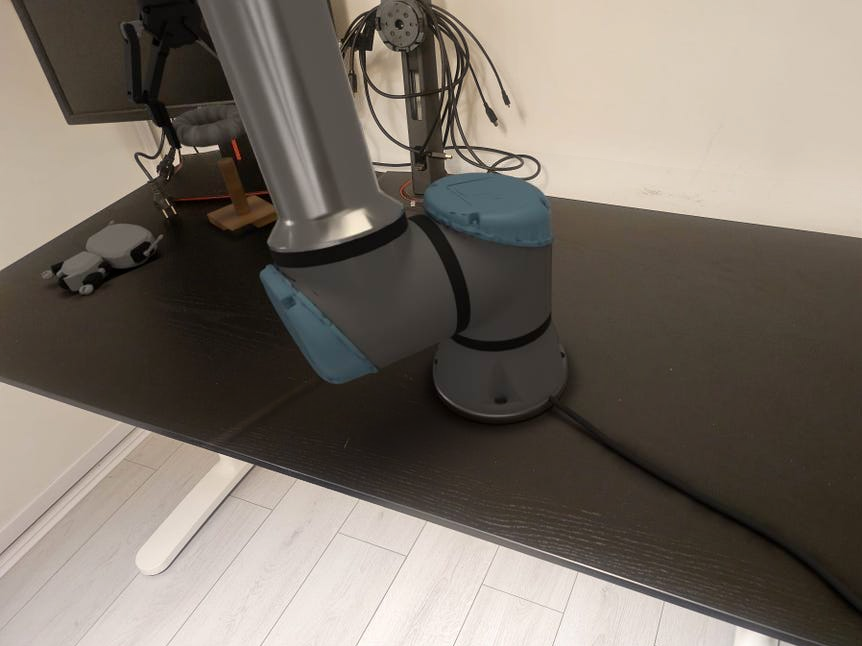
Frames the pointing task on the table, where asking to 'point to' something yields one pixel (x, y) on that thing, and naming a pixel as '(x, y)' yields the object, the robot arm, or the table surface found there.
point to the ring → (209, 126)
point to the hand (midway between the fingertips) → (213, 133)
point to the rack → (240, 203)
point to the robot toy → (104, 257)
